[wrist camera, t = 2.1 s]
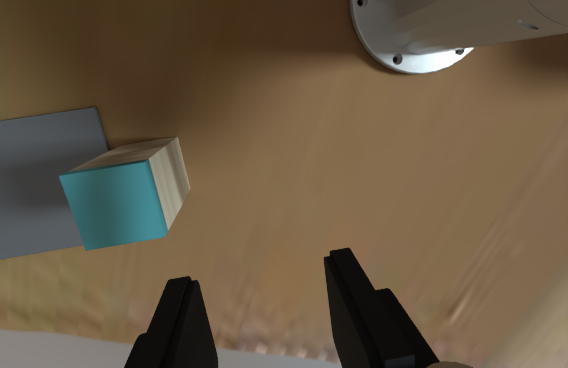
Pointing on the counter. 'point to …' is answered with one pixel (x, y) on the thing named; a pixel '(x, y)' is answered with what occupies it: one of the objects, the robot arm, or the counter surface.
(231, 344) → the counter surface
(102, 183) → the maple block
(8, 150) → the rubber mat
